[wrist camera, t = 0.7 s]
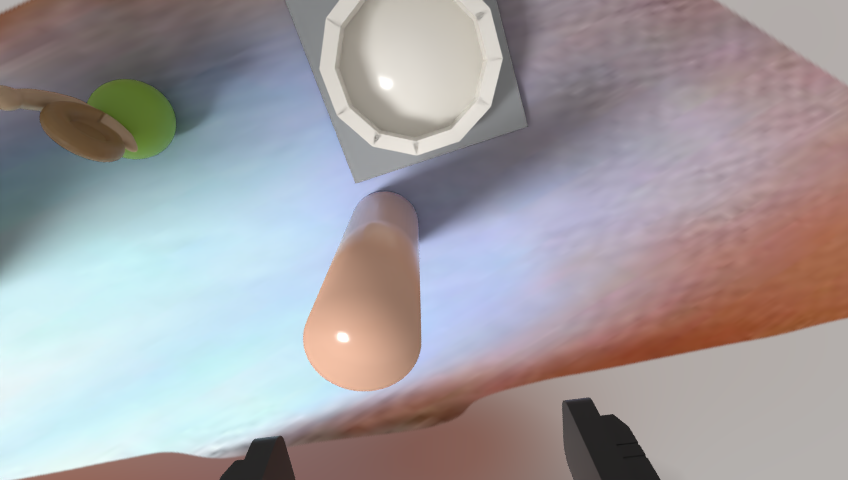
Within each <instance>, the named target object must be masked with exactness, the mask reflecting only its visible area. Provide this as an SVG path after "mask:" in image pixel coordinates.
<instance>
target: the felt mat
mask: <svg viewBox="0 0 848 480" xmlns="http://www.w3.org/2000/svg"><path fill="white" fill-rule="evenodd" d="M338 1H339V0H285V2H286V4H287V7H288V9H289V12H290V15H291V17H292V20H293V22H294V25H295V28H296V30H297V33H298V35H299V38H300V40H301V43H302V46H303V48H304V51H305V53H306V56H307V59H308V61H309V64H310V66H311V69H312V72H313V74H314V77H315V79H316V82H317V85H318V87H319V90H320V92H321V95H322V98H323V100H324V103H325V105H326V108H327V111H328V113H329V116H330V118H331V121H332V124H333V126H334V129H335V131H336V134H337V137H338V139H339V142H340V144H341V147H342V150H343V152H344V155H345V157H346V160H347V163H348V165H349V168H350V170H351V173H352V176H353V178H354V181H355V183H359V182H362V181H365V180H368V179H371V178H374V177H377V176H380V175H383V174H386V173H389V172H392V171H395V170H398V169H401V168H404V167H407V166H410V165H413V164H416V163H419V162H422V161H425V160H428V159H431V158H435V157H438V156H441V155H444V154H447V153H450V152H453V151H456V150H459V149H462V148H465V147H468V146H471V145H474V144H477V143H480V142H483V141H486V140H489V139H492V138H495V137H498V136H501V135H504V134H507V133H510V132H513V131H516V130H519V129H522V128H525V127H528V125H527V121H526V117H525V113H524V109H523V105H522V101H521V97H520V93H519V89H518V85H517V81H516V77H515V73H514V69H513V65H512V61H511V57H510V53H509V49H508V45H507V41H506V37H505V32H504V28H503V24H502V20H501V16H500V12H499V8H498V4H497V0H482V1H483V2H484V3H485V4H486V5H487V6H488V7H489V8H490V10H491V14H492V18H493V22H494V26H495V29H496V33H497V37H498V41H499V45H500V49H501V53H502V57H503V58H502V59H503V60H502V64H501V68H500V72H499V76H498V80H497V84H496V88H495V92H494V96H493V100H492V104H491V107H490V108H489V109H488V110H487V112H486V113H485V114H484V115H483V116H482V117H481V118H480V119H479V120H478V121H477V123H476V124H475V125H474V126H473V127H472V128H471V129H470V130H469V131H468V132H467V134H466V135H465V136H464V137H463V138H462V139H461V140H460V141H459V142H456V143H453V144H450V145H447V146H444V147H441V148H438V149H435V150H432V151H429V152H426V153H423V154H420V155H417V156H416V155H411V154H406V153H401V152H396V151H392V150H387V149H382V148H377V147H373V146H371V145H370V144H369V143H368V142H367V141H365V140H364V139H363V138H362V137H361V136H360V135H359V134H357V133H356V132H355V131H354V130H353V129H352V128H351V127H349V126H348V125H347V124H346V123H345V122H344V121H342V120H341V119H340V118H339V117H338V116H337V114H336V112H335V109H334V107H333V104H332V101H331V99H330V96H329V93H328V91H327V88H326V85H325V83H324V80H323V78H322V75H321V72H320V70H319V68H320V60H321V52H322V44H323V37H324V29H325V21H326V17H327V16H328V15H329V13H330V12H331V11H332V9H333V8H334V7H335V5H336V4H337V3H338Z"/></svg>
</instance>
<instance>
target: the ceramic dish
mask: <svg viewBox="0 0 848 480" xmlns="http://www.w3.org/2000/svg"><path fill="white" fill-rule="evenodd" d="M502 58H503V57H502V53H501V49H500V45H499V41H498V37H497V33H496V29H495V26H494V22H493V18H492V14H491V10H490V8H489V7H488V6H487V5H486V4H485V3H484V2H483V1H482V0H339V1H338V3H337V4H336V5H335V7H334V8H333V9H332V11H331V12H330V13H329V15H328V16H327V17H326V21H325V29H324V37H323V44H322V52H321V60H320V68H319V70H320V72H321V75H322V78H323V80H324V83H325V85H326V88H327V91H328V93H329V96H330V99H331V101H332V104H333V107H334V109H335V112H336V114H337V116H338V117H339V118H340V119H341V120H342V121H344V122H345V123H346V124H347V125H348V126H349V127H351V128H352V129H353V130H354V131H355V132H356V133H357V134H359V135H360V136H361V137H362V138H363V139H364V140H365V141H367V142H368V143H369V144H370V145H371V146H373V147H377V148H382V149H387V150H392V151H396V152H401V153H406V154H411V155H416V156H417V155H420V154H423V153H426V152H429V151H432V150H435V149H438V148H441V147H444V146H447V145H450V144H453V143H456V142H459V141H460V140H461V139H462V138H463V137H464V136H465V135H466V134H467V132H468V131H469V130H470V129H471V128H472V127H473V126H474V125H475V124H476V123H477V121H478V120H479V119H480V118H481V117H482V116H483V115H484V114H485V113H486V112H487V110H488V109H489V108H490V107H491V104H492V100H493V96H494V92H495V88H496V84H497V80H498V76H499V72H500V68H501V64H502V60H503V59H502Z"/></svg>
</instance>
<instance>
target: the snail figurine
mask: <svg viewBox="0 0 848 480" xmlns="http://www.w3.org/2000/svg"><path fill="white" fill-rule="evenodd" d="M0 109H1V110H5V111H14V110H17V109H27V110H35V111H41V113H40V123H41V126H42V128H43V130H44V131H45V132H46V134H47V135H48V136H49V137H50V138H51V139H52V140H53V141H55V142H56V143H57V144H59V145H60V146H61V147H63V148H65V149H66V150H68V151H70V152H72V153H74V154H76V155H78V156H81V157H83V158H86V159H89V160H93V161H99V162H113V161H117V160H119V159H120V158H121V157H123V158H128V159H145V158H149V157H152V156H155V155H157V154H159V153H160V152H162V151H163V150H164V149H166V148H167V147H168V145H169V144H170V143H171V141H172V139H173V137H174V135H175V131H176V118H175V114H174V111H173V108H172V106H171V104H170V103H169V101H168V100H167V99H166V98H165V96H164V95H163V94H162V93H160V92H159V91H158V90H157V89H155V88H154V87H152V86H150V85H148V84H146V83H143V82H140V81H137V80H131V79H119V80H113V81H110V82H107V83H105V84H103V85H101V86H100V87H98V88H97V89H96V90H95V91H94V92H93V93H92V95H91V96H90V98H89V99H88V102H87V103H85V102H83V101H81V100H79V99H77V98H74V97H71V96H67V95H63V94H59V93H55V92H49V91H44V90H37V89H14V88H11V87H8V86H3V85H0Z"/></svg>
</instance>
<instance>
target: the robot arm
mask: <svg viewBox="0 0 848 480" xmlns="http://www.w3.org/2000/svg"><path fill="white" fill-rule="evenodd" d="M562 412H563V439H564V450H565V455H566V459H567V463H568V466H569V469H570V472H571V474H572V477H573V479H574V480H660V478H659V476H658V475H657V473H656V471H655V470H654V468H653V467H652V465H651V463H650V461H649V460H648V458H646V456H645V453H644V452H643V450H642V448H641V447H640V445H638V441H637V440H636V438H635V436H634V435H633V433H632V431H631V430H630V428H629V427H628V426H627V425H626V424H625V423H623V422H622V421H621V420H620V419H618V418H617V417H616V416H615V415H613V414H611V415H603V416H600V414H599V413H598V410H597V409H596V407H595V405H594V403H593V401H592V400H591V398H581V399H572V400H565V401H563V403H562ZM220 480H295V476H294V472H293V469H292V465H291V462H290V458H289V455H288V452H287V448H286V445H285V441H284V439H283V437H282V436H275V437H266V438H258V439H254V440H253V441H252V443H251V445H250V447H249V450H248V452H247V454H246V457H245V459H244V460H237V461H235V462H234V463H233V464H232V465H231V466H230V467H229V468H228V469H227V471H226V472H225V473H224V474H223V475H222V476H221V478H220Z"/></svg>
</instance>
